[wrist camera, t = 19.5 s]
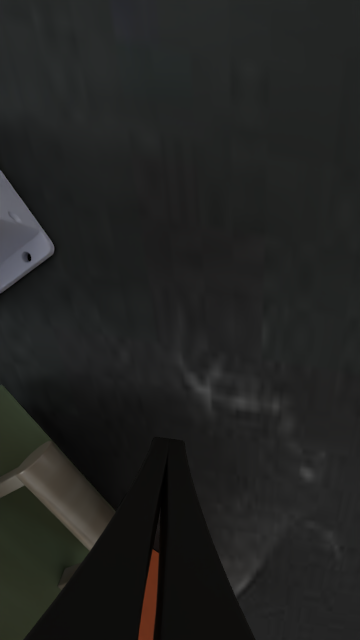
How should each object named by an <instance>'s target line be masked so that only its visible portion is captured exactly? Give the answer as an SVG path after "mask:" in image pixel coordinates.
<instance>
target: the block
mask: <svg viewBox="0 0 360 640" xmlns="http://www.w3.org/2000/svg"><path fill="white" fill-rule="evenodd" d="M158 561H159V553H158V552H156V551H155V550H152V556H151V561H150V566H149V572H148V577H147V583H146V588H145V594H144V601H143V607H142V614H141V622H140V629H139V637H138V640H153V634H154V623H155V613H156V600H157V584H158Z"/></svg>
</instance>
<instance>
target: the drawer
mask: <svg viewBox="0 0 360 640" xmlns="http://www.w3.org/2000/svg"><path fill="white" fill-rule="evenodd" d="M115 512H116V511H115V510H114V509H113V508H112V507H111V505H110V504H109V503H108V502H107V501H106V500H105V499H104V498H103V497H102V495H101V494H100V493H99V492H98V491H97V490H96V489H95V488H94V486H93V485H92V484H91V483H90V482H89V481H88V480H87V479H86V478H85V476H84V475H83V474H82V473H81V472H80V471H79V470H78V469H77V468H76V466H75V465H74V464H73V463H72V462H71V461H70V460H69V459H68V457H67V456H66V455H65V454H64V453H63V452H62V451H61V450H60V449H59V447H58V446H57V445H56V444H55V443H54V442H53V441H52V440H51V439H50V437H49V436H48V435H47V434H46V433H45V432H44V431H43V430H42V428H41V427H40V426H39V425H38V424H37V423H36V422H35V421H34V420H33V418H32V417H31V416H30V415H29V414H28V413H27V412H26V411H25V410H24V408H23V407H22V406H21V405H20V404H19V403H18V402H17V401H16V399H15V398H14V397H13V396H12V395H11V394H10V393H9V392H8V391H7V389H6V388H5V387H4V386H3V385H0V640H23V639H24V638H25V637H26V635H27V634H28V633H29V632H30V630H31V629H32V628H33V627H34V625H35V624H36V623H37V621H38V620H39V619H40V618H41V616H42V615H43V614H44V612H45V611H46V610H47V609H48V607H49V606H50V605H51V604H52V602H53V601H54V600H55V598H56V597H57V596H58V594H59V593H60V592H61V590H62V589H63V588H64V586H65V585H66V584H67V582H68V581H69V580H70V578H71V577H72V575H73V574H74V573H75V571H76V570H77V568H78V567H79V566H80V564H81V563H82V561H83V560H84V559H85V557H86V556H87V554H88V553H89V552H90V550H91V549H92V547H93V546H94V544H95V543H96V541H97V540H98V538H99V537H100V535H101V534H102V532H103V531H104V529H105V528H106V526H107V525H108V523H109V522H110V520H111V519H112V517H113V515H114V514H115Z"/></svg>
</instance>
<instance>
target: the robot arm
mask: <svg viewBox="0 0 360 640" xmlns="http://www.w3.org/2000/svg"><path fill="white" fill-rule="evenodd" d="M53 253H54V245H53V243H52V241H51V240H50V238H49V237H48V236H47V234H46V233H45V231H44V230H43V229H42V227H41V226H40V224H39V223H38V222H37V220H36V219H35V217H34V216H33V215H32V213H31V212H30V210H29V209H28V208H27V206H26V205H25V203H24V202H23V201H22V199H21V198H20V196H19V195H18V194H17V192H16V191H15V189H14V188H13V187H12V185H11V184H10V182H9V181H8V180H7V178H6V177H5V175H4V174H3V173H2V171H1V170H0V294H1V293H2V292H3V291H5V290H6V289H7V288H9V287H10V286H11V285H13V284H14V283H15V282H17V281H18V280H19V279H21V278H22V277H24V276H25V275H26V274H28V273H29V272H30V271H32V270H33V269H34V268H36V267H37V266H38V265H40V264H41V263H42V262H44V261H45V260H46V259H48V258H49V257H50V256H52V254H53ZM28 254H30V255H31V261H29V260H28V258H27V257H28ZM160 507H161V515H160V538H159V561H158V584H157V600H156V613H155V623H154V634H153V640H255V638H254V636H253V633H252V631H251V629H250V627H249V625H248V623H247V621H246V618H245V616H244V614H243V612H242V610H241V608H240V606H239V603H238V601H237V599H236V597H235V594H234V592H233V590H232V587H231V585H230V583H229V580H228V578H227V576H226V573H225V571H224V568H223V566H222V564H221V561H220V559H219V556H218V554H217V551H216V549H215V546H214V543H213V541H212V538H211V535H210V533H209V530H208V527H207V524H206V521H205V519H204V516H203V513H202V510H201V507H200V504H199V501H198V497H197V494H196V491H195V487H194V484H193V480H192V477H191V473H190V469H189V465H188V460H187V455H186V449H185V443H184V441H183V440H175V439H167V438H160V437H155V438H153V440H152V443H151V446H150V449H149V451H148V453H147V456H146V458H145V460H144V462H143V464H142V466H141V468H140V470H139V472H138V474H137V476H136V478H135V480H134V481H133V483H132V485H131V487H130V489H129V491H128V492H127V494H126V496H125V497H124V499H123V501H122V502H121V504H120V506H119V507H118V509H117V511H116V512H115V514H114V515H113V517H112V519H111V520H110V522H109V523H108V525H107V526H106V528H105V529H104V531H103V532H102V534H101V535H100V537H99V538H98V540H97V541H96V543H95V544H94V546H93V547H92V549H91V550H90V552H89V553H88V554H87V556H86V557H85V559H84V560H83V561H82V563H81V564H80V566H79V567H78V568H77V570H76V571H75V573H74V574H73V575H72V577H71V578H70V580H69V581H68V582H67V584H66V585H65V586H64V588H63V589H62V590H61V592H60V593H59V594H58V596H57V597H56V598H55V600H54V601H53V602H52V604H51V605H50V606H49V607H48V609H47V610H46V611H45V612H44V614H43V615H42V616H41V618H40V619H39V620H38V621H37V623H36V624H35V625H34V627H33V628H32V629H31V630H30V632H29V633H28V634H27V635H26V637H25V638H24V639H23V640H138V637H139V629H140V622H141V614H142V607H143V601H144V594H145V588H146V583H147V577H148V572H149V566H150V561H151V556H152V550H153V545H154V539H155V534H156V529H157V523H158V518H159V512H160Z"/></svg>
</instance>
